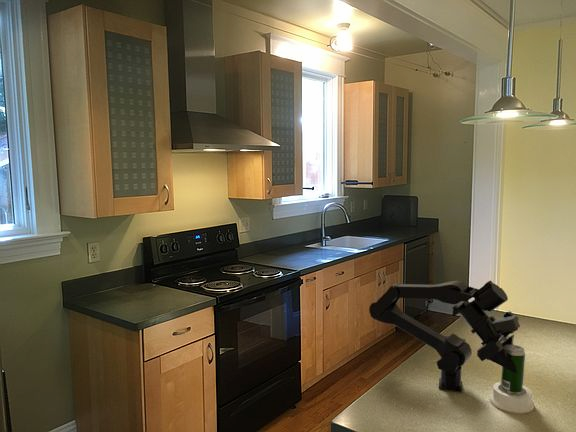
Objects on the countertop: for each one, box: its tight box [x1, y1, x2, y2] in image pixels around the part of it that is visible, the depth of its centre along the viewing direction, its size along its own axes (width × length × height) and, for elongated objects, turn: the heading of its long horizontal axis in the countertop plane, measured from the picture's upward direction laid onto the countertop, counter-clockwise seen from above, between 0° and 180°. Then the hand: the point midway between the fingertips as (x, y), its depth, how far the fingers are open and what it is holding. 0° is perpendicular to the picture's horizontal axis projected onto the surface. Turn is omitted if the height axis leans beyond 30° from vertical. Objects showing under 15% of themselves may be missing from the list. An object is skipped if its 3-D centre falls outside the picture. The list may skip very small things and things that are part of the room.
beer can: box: [500, 344, 526, 394], centre depth 130 cm, size 5×5×12 cm
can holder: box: [489, 381, 535, 415], centre depth 131 cm, size 11×11×4 cm
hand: (518, 368), depth 129 cm, fingers closed on beer can, 5 cm apart
